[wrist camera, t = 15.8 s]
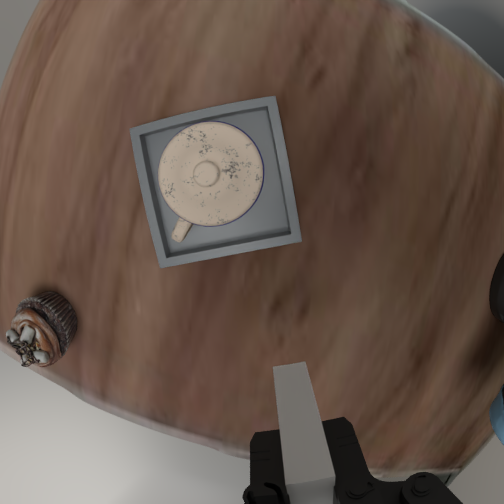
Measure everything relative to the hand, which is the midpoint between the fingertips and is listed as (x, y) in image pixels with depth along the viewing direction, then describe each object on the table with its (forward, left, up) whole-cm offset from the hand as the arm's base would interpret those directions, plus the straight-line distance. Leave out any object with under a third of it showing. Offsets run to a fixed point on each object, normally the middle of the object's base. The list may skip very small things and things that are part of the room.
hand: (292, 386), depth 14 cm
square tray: (+4, -9, -24) cm, 26 cm away
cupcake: (+32, +4, -25) cm, 40 cm away
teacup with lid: (+4, -9, -24) cm, 26 cm away
